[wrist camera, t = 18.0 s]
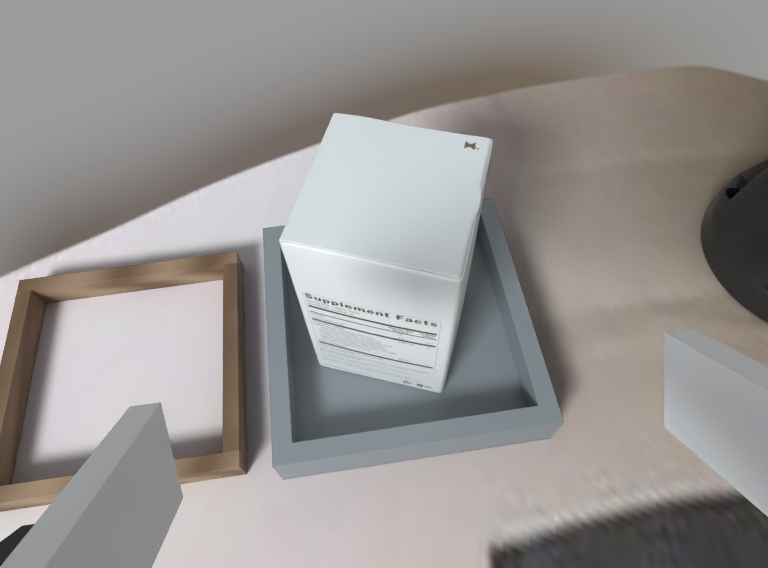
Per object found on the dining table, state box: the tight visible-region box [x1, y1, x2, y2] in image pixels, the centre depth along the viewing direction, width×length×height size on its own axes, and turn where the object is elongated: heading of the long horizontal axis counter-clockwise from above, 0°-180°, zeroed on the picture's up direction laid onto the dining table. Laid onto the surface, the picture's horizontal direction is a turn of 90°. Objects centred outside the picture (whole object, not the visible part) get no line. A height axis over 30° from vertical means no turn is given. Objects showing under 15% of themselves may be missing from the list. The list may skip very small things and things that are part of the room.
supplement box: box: [279, 113, 493, 393], centre depth 33 cm, size 9×9×15 cm
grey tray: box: [263, 198, 564, 480], centre depth 39 cm, size 17×17×4 cm
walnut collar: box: [0, 252, 247, 512], centre depth 38 cm, size 16×16×2 cm
